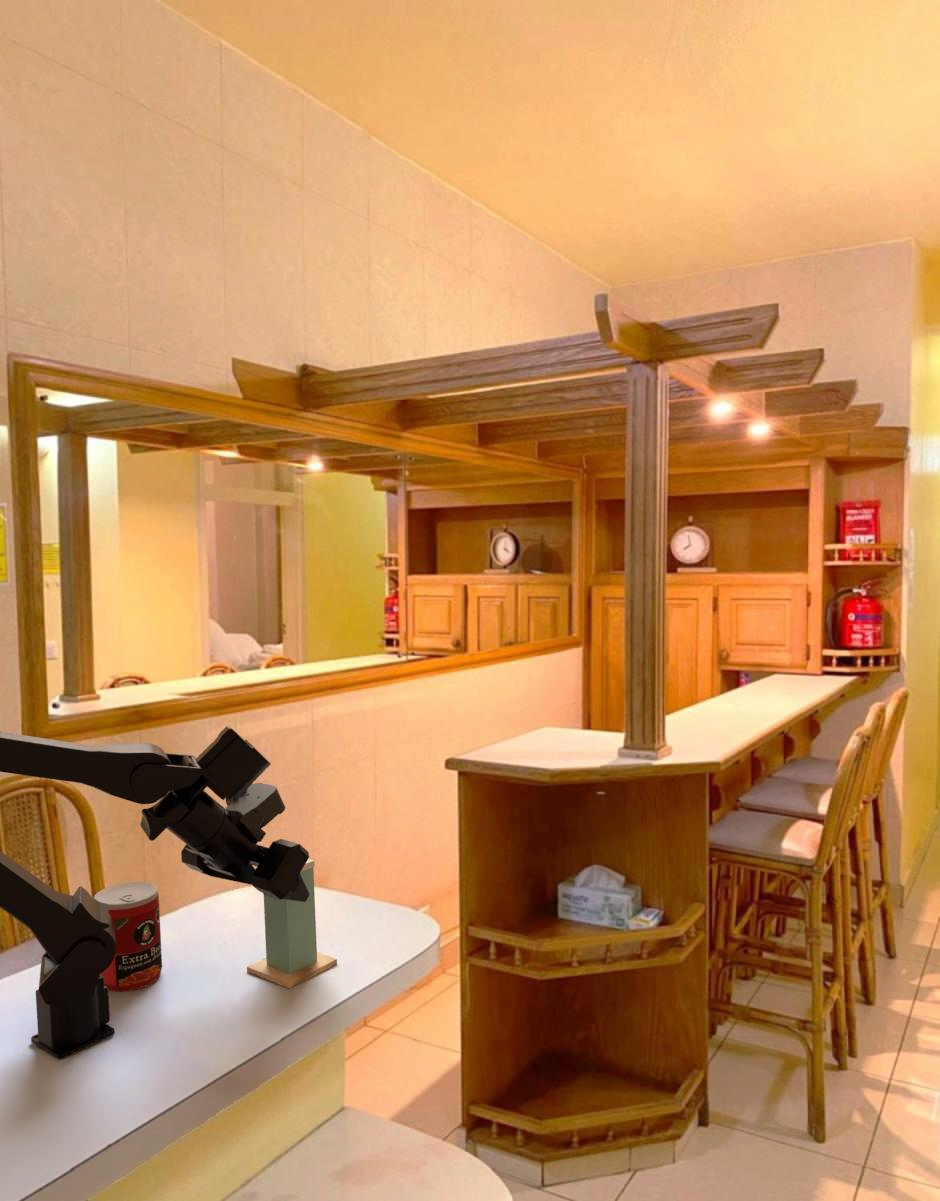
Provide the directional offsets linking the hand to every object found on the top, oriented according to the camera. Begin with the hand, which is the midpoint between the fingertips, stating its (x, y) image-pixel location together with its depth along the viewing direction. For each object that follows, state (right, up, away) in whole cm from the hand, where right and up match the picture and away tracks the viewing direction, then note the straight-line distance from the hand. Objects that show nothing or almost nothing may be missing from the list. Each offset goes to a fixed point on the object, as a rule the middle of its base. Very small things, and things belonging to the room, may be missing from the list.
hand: (282, 889), depth 116 cm
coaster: (+1, -10, +1) cm, 10 cm away
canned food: (-19, -11, 0) cm, 22 cm away
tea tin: (+1, -10, +1) cm, 10 cm away
